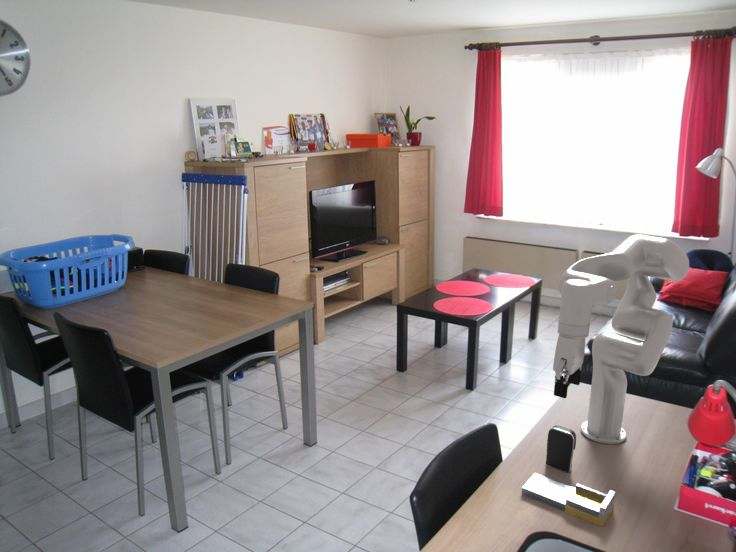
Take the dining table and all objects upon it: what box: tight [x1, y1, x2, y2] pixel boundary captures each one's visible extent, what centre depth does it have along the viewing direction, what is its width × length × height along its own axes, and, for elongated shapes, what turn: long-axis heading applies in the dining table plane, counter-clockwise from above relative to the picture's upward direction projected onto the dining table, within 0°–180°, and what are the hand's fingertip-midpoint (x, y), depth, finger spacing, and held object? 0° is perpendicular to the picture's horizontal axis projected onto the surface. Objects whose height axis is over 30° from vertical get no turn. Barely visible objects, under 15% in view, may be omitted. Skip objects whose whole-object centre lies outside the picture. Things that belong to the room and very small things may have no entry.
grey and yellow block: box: [521, 472, 616, 528], centre depth 147 cm, size 8×20×5 cm, turn 52°
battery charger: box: [545, 425, 577, 473], centre depth 161 cm, size 7×4×11 cm, turn 51°
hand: (566, 389), depth 157 cm, fingers open, 9 cm apart
